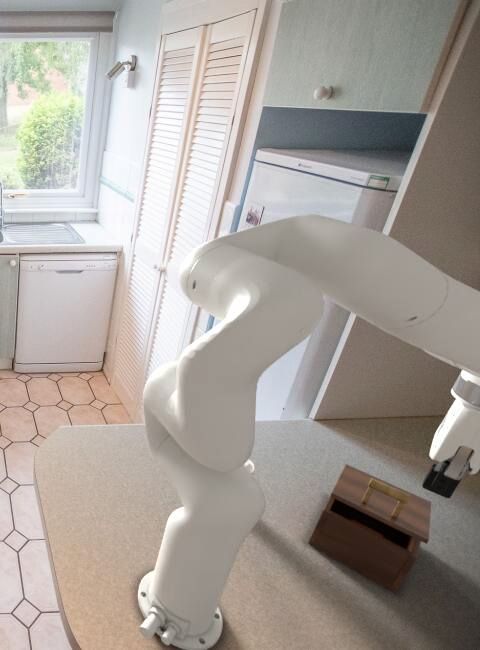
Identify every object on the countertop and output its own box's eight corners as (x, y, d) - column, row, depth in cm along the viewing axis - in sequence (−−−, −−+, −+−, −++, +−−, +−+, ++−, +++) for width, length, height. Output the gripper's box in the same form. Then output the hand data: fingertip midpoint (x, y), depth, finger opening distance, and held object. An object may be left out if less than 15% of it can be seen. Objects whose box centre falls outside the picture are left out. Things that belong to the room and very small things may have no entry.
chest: (395, 592, 76) (417, 558, 73) (307, 543, 85) (323, 509, 81) (409, 538, 86) (429, 505, 82) (329, 499, 94) (344, 467, 91)
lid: (426, 544, 71) (442, 516, 69) (329, 496, 79) (342, 470, 78) (429, 505, 82) (443, 480, 81) (344, 467, 91) (355, 444, 89)
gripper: (459, 364, 70) (411, 454, 78) (450, 403, 61) (396, 501, 69) (532, 384, 65) (472, 479, 73) (534, 431, 56) (465, 533, 64)
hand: (435, 490), depth 71 cm, fingers closed
